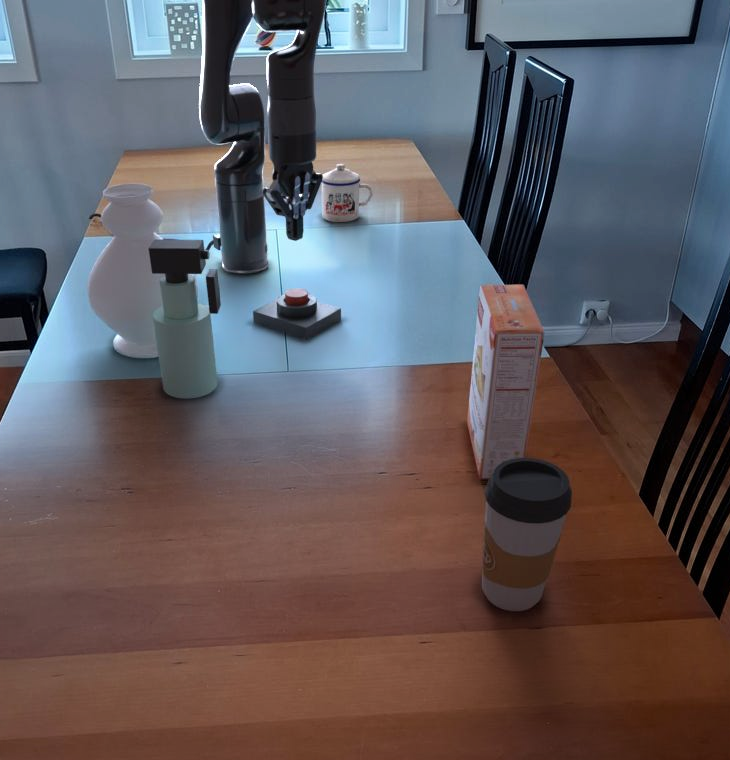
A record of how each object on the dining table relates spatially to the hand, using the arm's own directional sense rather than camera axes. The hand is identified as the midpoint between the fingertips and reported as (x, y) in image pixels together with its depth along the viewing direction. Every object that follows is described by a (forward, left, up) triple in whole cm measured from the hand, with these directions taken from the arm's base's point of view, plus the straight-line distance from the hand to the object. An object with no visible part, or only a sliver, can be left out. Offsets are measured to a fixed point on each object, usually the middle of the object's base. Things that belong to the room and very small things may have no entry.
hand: (294, 238), depth 135 cm
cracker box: (+51, 0, -15) cm, 53 cm away
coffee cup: (+73, -17, -15) cm, 77 cm away
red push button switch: (0, 0, -15) cm, 15 cm away
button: (0, 0, -11) cm, 11 cm away
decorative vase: (-7, -25, -15) cm, 30 cm away
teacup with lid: (-44, +40, -15) cm, 61 cm away
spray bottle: (+11, -26, -15) cm, 32 cm away
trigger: (+14, -22, -2) cm, 27 cm away
